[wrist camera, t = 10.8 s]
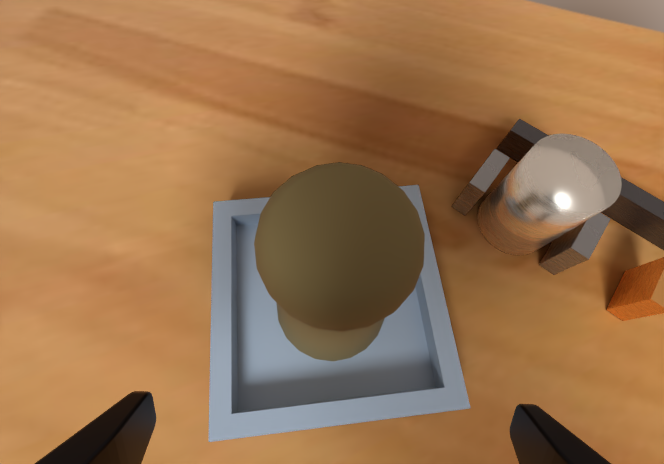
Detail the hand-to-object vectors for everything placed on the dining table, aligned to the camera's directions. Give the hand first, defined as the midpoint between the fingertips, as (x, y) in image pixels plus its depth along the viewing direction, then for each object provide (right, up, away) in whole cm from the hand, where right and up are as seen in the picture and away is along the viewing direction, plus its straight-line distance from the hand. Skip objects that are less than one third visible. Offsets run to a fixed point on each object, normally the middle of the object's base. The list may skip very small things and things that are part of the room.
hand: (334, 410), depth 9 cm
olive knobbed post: (0, 0, +11) cm, 11 cm away
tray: (0, 0, +11) cm, 11 cm away
